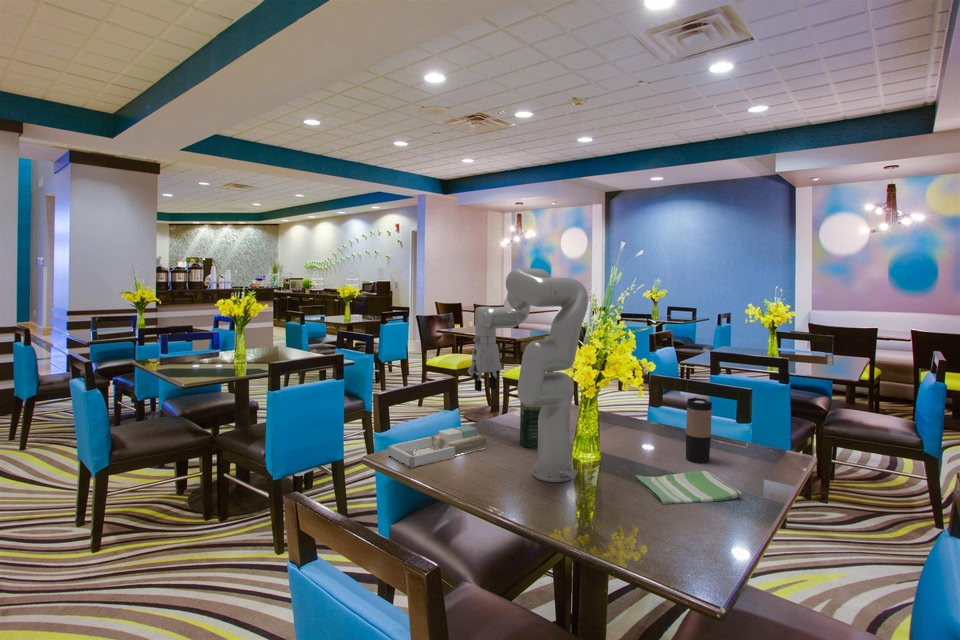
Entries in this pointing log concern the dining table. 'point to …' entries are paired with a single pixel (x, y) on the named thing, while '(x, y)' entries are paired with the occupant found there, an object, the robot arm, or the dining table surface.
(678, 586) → the dining table surface
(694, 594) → the dining table surface
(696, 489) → the dish towel
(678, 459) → the dining table surface
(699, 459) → the travel mug
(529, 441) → the coffee jar
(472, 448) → the birch board
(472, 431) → the teal tile
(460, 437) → the white tile
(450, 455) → the tray
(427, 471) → the dining table surface
